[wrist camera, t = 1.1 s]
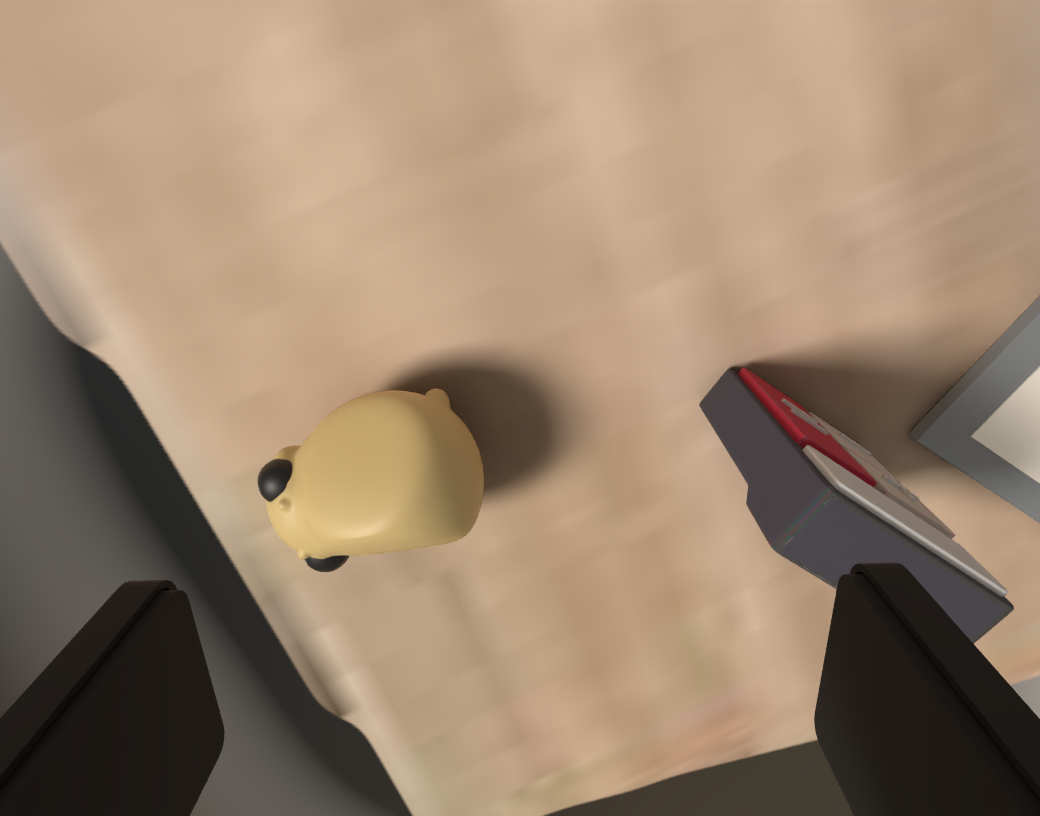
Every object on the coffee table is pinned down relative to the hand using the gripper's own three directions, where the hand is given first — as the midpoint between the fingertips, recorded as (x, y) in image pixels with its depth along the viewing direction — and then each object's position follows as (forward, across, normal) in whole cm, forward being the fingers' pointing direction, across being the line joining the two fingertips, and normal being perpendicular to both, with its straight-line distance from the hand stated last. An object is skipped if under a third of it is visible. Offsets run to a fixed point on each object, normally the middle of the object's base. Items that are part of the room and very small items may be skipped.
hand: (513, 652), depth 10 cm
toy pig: (+31, +9, +11) cm, 34 cm away
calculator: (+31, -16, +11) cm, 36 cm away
